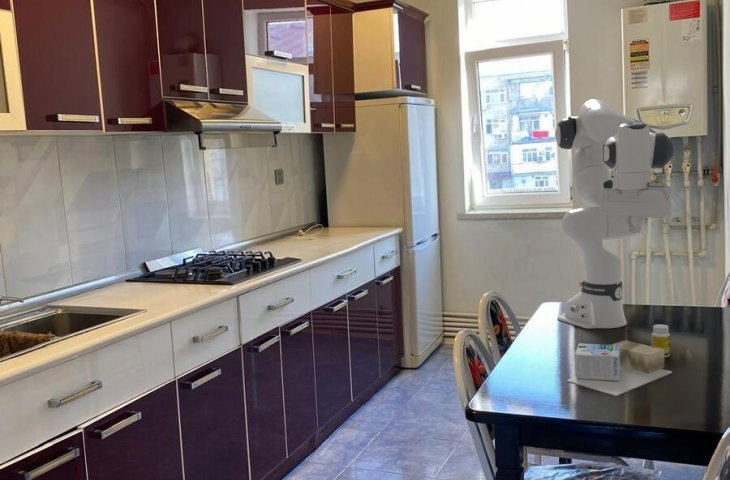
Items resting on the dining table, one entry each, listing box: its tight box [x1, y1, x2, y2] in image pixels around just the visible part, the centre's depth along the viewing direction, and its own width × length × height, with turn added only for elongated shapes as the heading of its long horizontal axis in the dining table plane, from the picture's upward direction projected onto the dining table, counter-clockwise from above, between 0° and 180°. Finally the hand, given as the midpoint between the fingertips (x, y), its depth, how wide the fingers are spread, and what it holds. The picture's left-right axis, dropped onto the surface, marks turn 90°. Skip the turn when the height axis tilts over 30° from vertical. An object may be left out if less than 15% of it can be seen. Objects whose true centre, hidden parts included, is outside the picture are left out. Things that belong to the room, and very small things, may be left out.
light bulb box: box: [574, 342, 621, 381], centre depth 178 cm, size 11×7×11 cm
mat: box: [566, 366, 673, 397], centre depth 176 cm, size 14×24×1 cm, turn 125°
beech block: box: [611, 339, 665, 374], centre depth 183 cm, size 5×7×12 cm
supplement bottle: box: [651, 323, 671, 358], centre depth 190 cm, size 5×5×8 cm
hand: (633, 232), depth 187 cm, fingers closed
